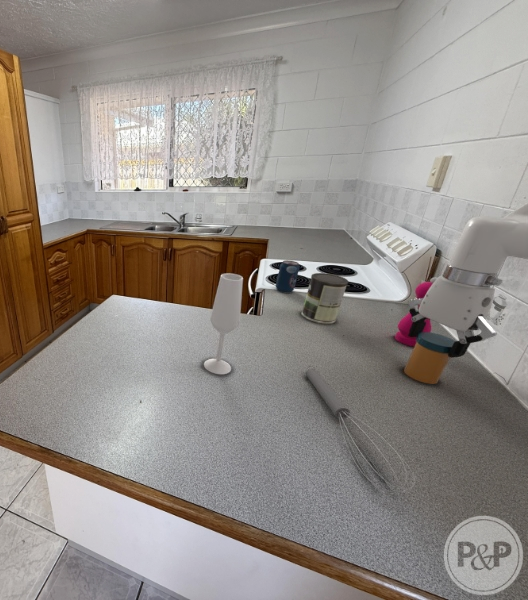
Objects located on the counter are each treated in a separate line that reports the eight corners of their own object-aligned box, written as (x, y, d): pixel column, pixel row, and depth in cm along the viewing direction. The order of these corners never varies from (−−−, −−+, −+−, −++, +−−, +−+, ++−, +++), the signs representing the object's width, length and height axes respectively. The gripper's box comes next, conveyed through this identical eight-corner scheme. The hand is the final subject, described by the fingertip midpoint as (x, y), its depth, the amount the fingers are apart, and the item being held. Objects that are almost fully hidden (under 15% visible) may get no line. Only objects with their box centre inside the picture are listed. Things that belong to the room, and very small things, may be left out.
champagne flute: (223, 378, 75) (239, 284, 65) (198, 366, 79) (210, 276, 69) (235, 366, 79) (252, 276, 69) (212, 355, 83) (224, 270, 74)
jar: (429, 370, 79) (446, 336, 75) (443, 386, 73) (462, 350, 69) (399, 365, 81) (413, 332, 77) (411, 380, 75) (427, 345, 71)
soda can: (292, 294, 124) (299, 266, 119) (273, 291, 127) (279, 262, 123) (294, 289, 129) (301, 261, 125) (276, 286, 133) (282, 258, 128)
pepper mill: (421, 339, 93) (450, 276, 85) (426, 350, 88) (458, 284, 80) (391, 332, 97) (416, 271, 89) (394, 343, 91) (421, 278, 83)
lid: (444, 340, 75) (447, 334, 75) (462, 356, 69) (466, 349, 69) (410, 335, 77) (412, 329, 77) (424, 350, 71) (427, 343, 71)
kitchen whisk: (319, 372, 77) (326, 351, 75) (415, 510, 47) (432, 482, 44) (293, 370, 78) (299, 348, 75) (371, 505, 47) (386, 476, 45)
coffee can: (296, 316, 106) (307, 277, 100) (307, 307, 113) (317, 270, 107) (330, 327, 99) (343, 286, 94) (339, 317, 106) (352, 278, 100)
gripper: (536, 290, 60) (490, 366, 67) (436, 263, 75) (408, 327, 82) (507, 292, 58) (463, 369, 65) (412, 264, 74) (385, 329, 81)
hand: (432, 345), depth 74 cm, fingers open, 8 cm apart
